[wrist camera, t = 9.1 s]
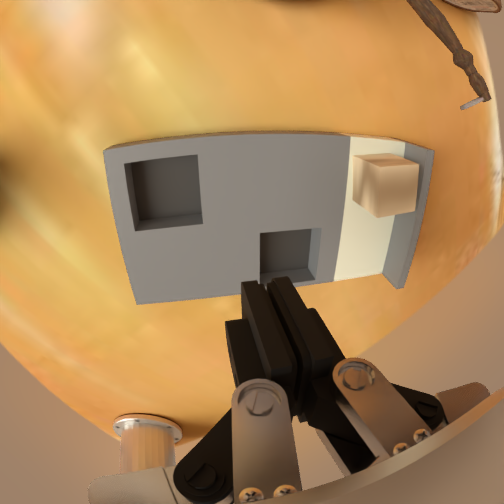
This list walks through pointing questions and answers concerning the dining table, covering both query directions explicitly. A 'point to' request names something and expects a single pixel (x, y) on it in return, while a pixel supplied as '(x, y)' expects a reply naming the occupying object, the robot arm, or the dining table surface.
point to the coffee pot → (452, 47)
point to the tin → (477, 5)
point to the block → (385, 184)
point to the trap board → (254, 212)
